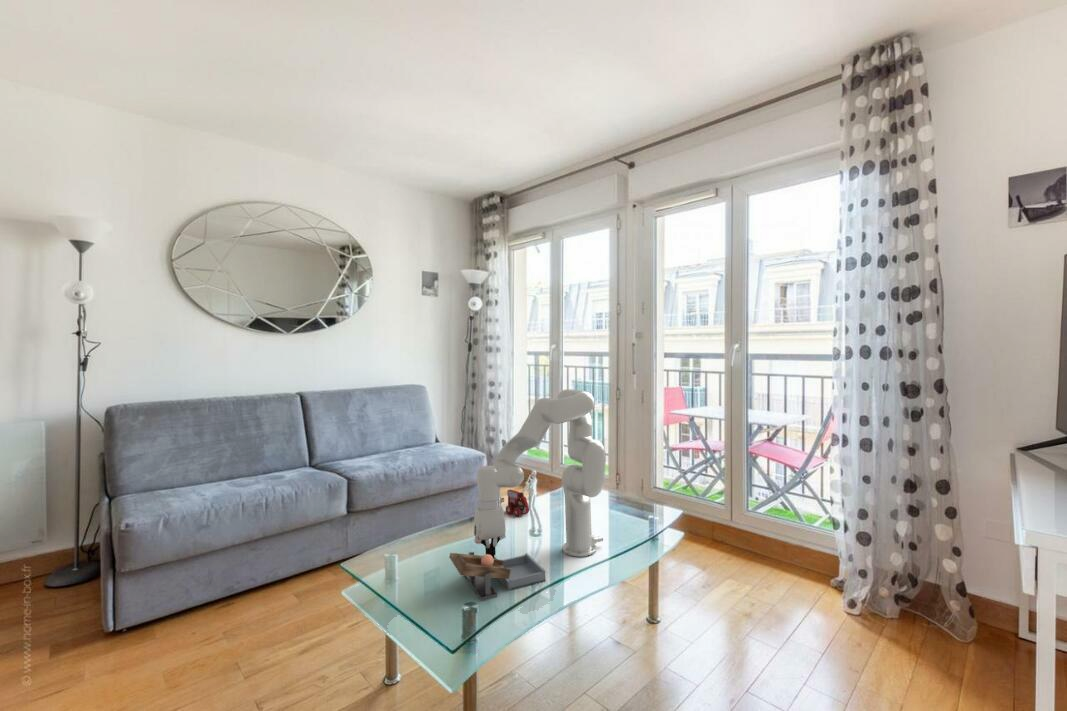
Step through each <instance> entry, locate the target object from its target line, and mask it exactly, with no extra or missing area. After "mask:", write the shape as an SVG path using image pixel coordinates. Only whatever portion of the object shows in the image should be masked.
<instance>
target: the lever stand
mask: <svg viewBox="0 0 1067 711" xmlns="http://www.w3.org/2000/svg"><path fill="white" fill-rule="evenodd" d="M468 554H469V555H475V552H474V551H469V552H468ZM464 577H465V579H466V580H467V582H468V583H469V586H470V587H471V588H472V589H473V591H474V593H475V595H477V597H478V599H479V600H480V601H481V602H483V601H488V600H490V599H495V598H497V597H498V596H497V592H496V591H495V590H494V588H493V587H492V583H491V577H490V572H486V573H484V577H477V576H464Z"/></svg>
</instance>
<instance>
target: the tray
mask: <svg viewBox="0 0 1067 711" xmlns="http://www.w3.org/2000/svg"><path fill="white" fill-rule="evenodd" d="M502 560H503V565H502V566H503V567H504V568H510V569H511V571H510V576H509V579H505V578H498V579H499V580H500V582H501V583H502V584H503V585H504V587H506V589H507V590H508V591H513V590H517V589H521V588H524V587H529V586H532V585H537V584H540V583H539V582H541V583H543V581H544V582H546V580H547V579H546V578H547V577H546V570H545V568H544V567H543V566H542V565H540V564H539V563H538V562H537V561H536V560H535V559H534V558H533V557H532V556H530V555H529V553H528V552H526V553H524V554H523V555H519V556H515V557H511V558H506V559H505V558H504V559H502ZM536 583H537V584H536Z"/></svg>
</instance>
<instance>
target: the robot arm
mask: <svg viewBox="0 0 1067 711" xmlns="http://www.w3.org/2000/svg"><path fill="white" fill-rule="evenodd" d="M594 407H595V398H594V396H593V395H592V394H591V393H590V392H588V391H584V390H577V389H563V390H561V391H559V392H558V394H557V398H552V397H551V398H550V397H542V398H539V399H538V400H537V401H536V402H535V404H534V405H533V407H532V408H531V410H530V412H529V414H528V415H527V418H526V419H525V421H524V423H523V424H522V426H521V427H520V429H519V431H518V432H517V433H516V434H515V435H514V436H513V437H512V438H510V439H509V440H508V442H506V443H505V444H504V445H503V447H502V448H501V450H499V453H498V454H497V456H495V457H496V458H495V460H494V461H493V464H492V465H483V466H481V467H479V468H478V469H477V472H476V473H477V506H478V507H475V510H474V517H473V518H474V519H473V536H474V543H475V544H477V545H478V544H479V545H480V544H481V545H483V546H484V548H485V555H486V554H489V555H491V556H492V557H493V559H494V557H495V556H496V547H497V545H498V544H499V542H500V541H501V540H504V539H505V538H506V520H505V518H506V517H505V512H504V509H503V508H504V507H503V505H502V503H504V502H505V498H504V497H501V488H515V487H518V486H520V485H521V484H522V483H523V482H524V479H525V472H524V470H523V469H522V468H521V467H520V466H519V465H517V464H515V463H516V461H517V460H518V459H519V457H521V456H522V454H523V453H525V452H527V451H528V450H531V449H533V448H536V447H537V446H540V445H541V442H542V441H543V439H544V438H545V436H546V434H547V432H548V430H549V428H550V426H551V425H552V424H553V425H554V424H555V425H558V424H564V423H568V424H569V425H568V426H569V429H568V430H569V431H568V441H567V442H568V443H567V444H568V445H567V455H568V457H569V459H571V460H573V461H575V462H577V463H580V464H581V465H579V464H570V465H567V466H566V467H565V468H564V470H563V471H562V475H561V483H562V490H563V493H564V506H565V508H564V509H565V510H564V511H565V512H564V513H565V538H566V540H565V541H566V542H565V543H563V544H562V552H563V553H564V554H566V555H568V556H571V557H578V558H579V557H581V558H583V557H588V555H589V556H592V555H593V554H595V553H596V551H597V546H596V544H597V543H600V542H603V541H604V537H603V536H602V535H599V536H597V535H596V534H594V535H592V507H591V506H592V505H591V502H592V501H591V498H595V497H597V496H599V495H600V494H601V492H602V490H603V488H604V483H605V475H606V474H605V471H606V462H607V461H606V460H607V458H606V457H607V453H606V450H605V447H604V444H602V442H601V441H599V440H597V439H596V438H595V439H594V438H593V420H592V416H591V412H592V411H593V410H594ZM591 554H592V555H591Z"/></svg>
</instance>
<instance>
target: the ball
mask: <svg viewBox="0 0 1067 711" xmlns="http://www.w3.org/2000/svg"><path fill="white" fill-rule="evenodd" d="M482 556H483V557H482V559H481V564H482V566H492V565H493V563H494V559H493V557H492V556H491V555H489V554H486V553H485V554H484V555H482Z"/></svg>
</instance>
